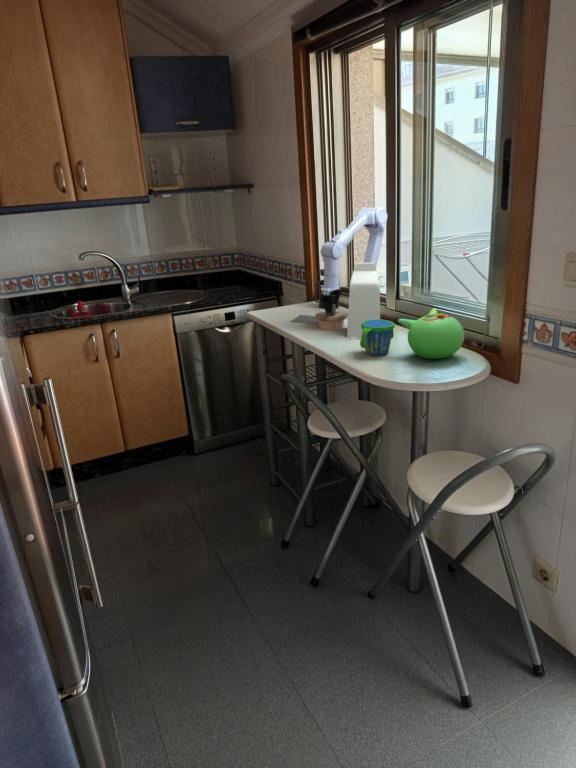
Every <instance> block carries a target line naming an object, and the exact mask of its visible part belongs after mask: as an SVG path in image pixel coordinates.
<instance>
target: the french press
mask: <svg viewBox="0 0 576 768" xmlns="http://www.w3.org/2000/svg"><path fill="white" fill-rule="evenodd" d="M318 271H319V275H320V276H322V277H324V268H322V269H319V270H318ZM321 286H324V279H321V280H318V282H317V281H315V282H314V287H315V288H314V292H315V293H314V299H315V300H314V301H315V303H318V309H320V308H321V309H320V310H325V307H324V303H323V301H322V298H321V297H320V294H322V293H323V291H322V288H321ZM318 287H319V288H318ZM318 290H319V291H318ZM318 293H319V294H318ZM318 297H319V299H318ZM338 307H339V308H340V300H339V301H338V306H337V308H338ZM339 308H338V309H339Z"/></svg>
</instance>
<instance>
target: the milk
mask: <svg viewBox="0 0 576 768" xmlns="http://www.w3.org/2000/svg"><path fill="white" fill-rule="evenodd" d="M380 291H381V288H380V281H379V277H378V272H377V267H376V268H375V266H374V263H363V262H357V263H356V264H355V266H354V269H353V271H352V273H351V278H350V281H349V299H348V311H347V312H348V313H347V314H348V315H347V332H346V333H347V334H346V335H347V336H346V338H347V337H361V336H362V332H363V329H362V327H361V323H362V322H364V321H366V320H374V319H380V320H381V293H380Z"/></svg>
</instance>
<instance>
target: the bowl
mask: <svg viewBox="0 0 576 768" xmlns="http://www.w3.org/2000/svg"><path fill="white" fill-rule="evenodd" d="M344 327H345V319H344V320H340V321H321V320H319V324H318V328H319V329H321V330H327V331H328V330H329V331H333V330H334V331H335V330H336V331H337V330H340V329H343V328H344Z"/></svg>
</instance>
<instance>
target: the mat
mask: <svg viewBox="0 0 576 768" xmlns="http://www.w3.org/2000/svg"><path fill="white" fill-rule="evenodd" d="M289 323H294V324H295V323H298V324H308V325H309V324H310V325H311V324H313V325H319V320H317V319H316V318H315V315H310V314H309V315H308V314H307V315H305V314H300V315H298V316H296V317H295V318H293V319H292V320H289Z"/></svg>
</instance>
